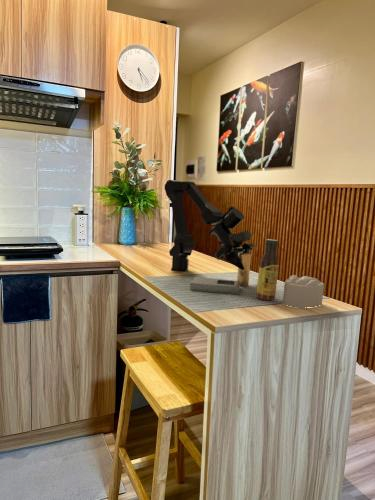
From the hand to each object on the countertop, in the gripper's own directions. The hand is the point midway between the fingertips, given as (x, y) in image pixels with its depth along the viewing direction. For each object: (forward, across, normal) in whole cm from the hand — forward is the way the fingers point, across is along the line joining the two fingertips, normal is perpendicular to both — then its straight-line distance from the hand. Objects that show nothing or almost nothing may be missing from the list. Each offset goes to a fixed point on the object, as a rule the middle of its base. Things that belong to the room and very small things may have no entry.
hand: (247, 268), depth 139 cm
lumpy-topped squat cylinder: (+22, -5, -12) cm, 26 cm away
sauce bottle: (+15, -9, -5) cm, 18 cm away
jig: (+2, -13, +8) cm, 15 cm away
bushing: (+4, 0, +6) cm, 7 cm away
